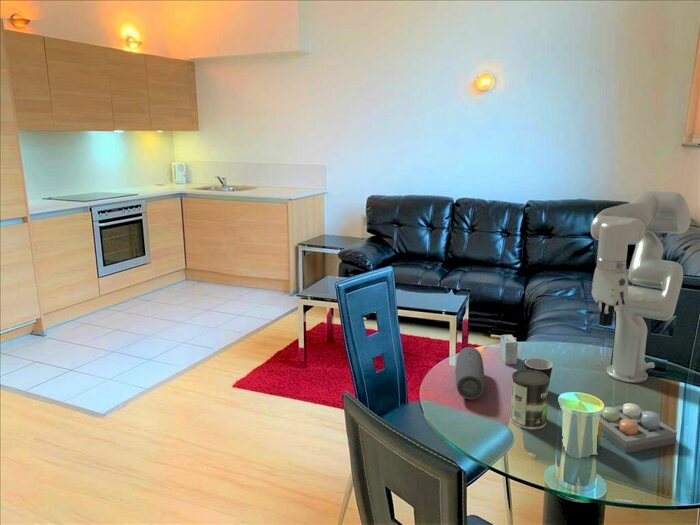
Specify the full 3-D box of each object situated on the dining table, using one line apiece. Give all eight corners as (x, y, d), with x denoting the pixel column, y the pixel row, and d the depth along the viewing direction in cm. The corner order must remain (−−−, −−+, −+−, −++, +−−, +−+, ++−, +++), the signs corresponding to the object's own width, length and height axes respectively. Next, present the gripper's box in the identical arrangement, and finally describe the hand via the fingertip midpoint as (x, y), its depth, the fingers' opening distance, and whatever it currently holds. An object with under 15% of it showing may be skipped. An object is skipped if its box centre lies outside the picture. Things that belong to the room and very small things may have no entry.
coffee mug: (552, 398, 171) (554, 370, 169) (524, 397, 173) (526, 368, 171) (547, 382, 182) (549, 354, 180) (520, 380, 184) (522, 353, 182)
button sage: (611, 415, 156) (612, 405, 156) (622, 423, 152) (623, 413, 151) (598, 418, 155) (599, 408, 154) (608, 426, 151) (609, 415, 150)
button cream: (631, 412, 158) (632, 402, 157) (643, 419, 154) (644, 409, 153) (618, 414, 157) (619, 404, 156) (629, 422, 153) (631, 411, 152)
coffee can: (550, 416, 161) (553, 373, 158) (542, 433, 153) (544, 388, 149) (515, 408, 167) (517, 366, 163) (505, 423, 158) (507, 380, 155)
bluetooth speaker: (455, 370, 193) (456, 344, 191) (482, 372, 191) (483, 346, 189) (454, 402, 172) (455, 373, 169) (484, 404, 170) (485, 375, 167)
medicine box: (517, 364, 196) (518, 342, 194) (504, 365, 196) (505, 342, 194) (511, 355, 204) (512, 334, 202) (499, 356, 204) (500, 334, 202)
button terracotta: (628, 428, 150) (630, 418, 149) (640, 436, 146) (642, 426, 145) (615, 430, 149) (616, 420, 148) (627, 439, 145) (628, 428, 144)
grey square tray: (631, 414, 161) (632, 403, 160) (675, 443, 146) (676, 431, 145) (585, 422, 157) (586, 411, 157) (625, 453, 142) (626, 441, 142)
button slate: (650, 420, 151) (651, 409, 150) (663, 428, 147) (664, 417, 146) (637, 422, 150) (638, 412, 149) (649, 431, 146) (650, 420, 145)
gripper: (641, 269, 148) (635, 332, 152) (604, 257, 162) (599, 315, 166) (618, 272, 146) (612, 335, 151) (582, 259, 160) (578, 318, 165)
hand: (605, 324), depth 159 cm, fingers closed
